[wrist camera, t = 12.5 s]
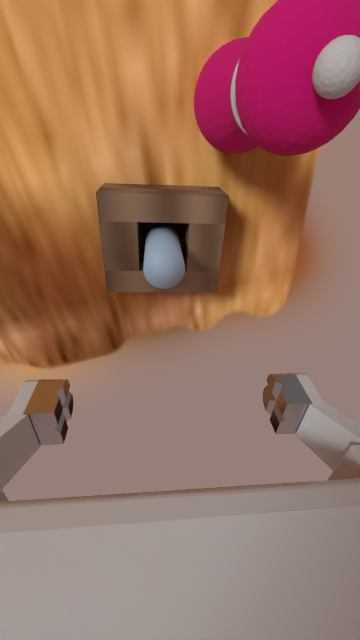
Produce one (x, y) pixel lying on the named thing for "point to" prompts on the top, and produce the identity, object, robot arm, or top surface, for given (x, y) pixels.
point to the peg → (163, 256)
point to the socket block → (161, 207)
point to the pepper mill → (284, 80)
